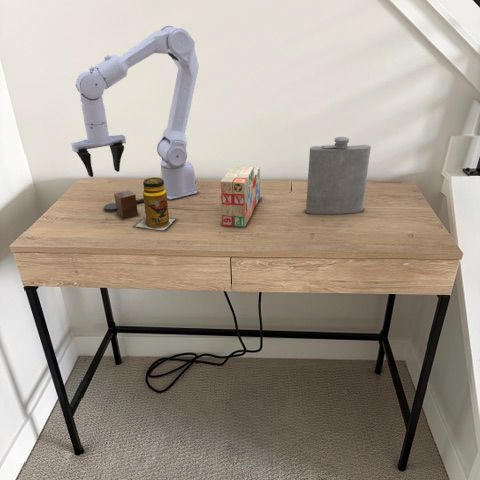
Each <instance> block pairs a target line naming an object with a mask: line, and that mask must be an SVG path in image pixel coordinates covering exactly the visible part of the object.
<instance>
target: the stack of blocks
mask: <svg viewBox="0 0 480 480" xmlns="http://www.w3.org/2000/svg"><path fill="white" fill-rule="evenodd" d="M260 169H261V167H260V166H245V165H244V166H243V165H231V166H230V167H229V169H228V171H227V172H226V174H225V175H224V177H222V179H221V180H220V192H221V193H220V199H221V200H220V201H221V202H220V203H221V225H222V226H223V227H237V228H246V225H247V223H249V220H250V219H251V217H252V214H253V212H254V209H255V207H256V206H257V204H258V202H259V201H260V198H261V177H260V176H261V173H260V172H261V170H260Z"/></svg>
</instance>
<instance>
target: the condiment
mask: <svg viewBox="0 0 480 480" xmlns="http://www.w3.org/2000/svg"><path fill="white" fill-rule="evenodd" d="M142 184H143V191H142V196H143V197H142V199H143V198H144V202H143V204H144V213H145V217H144V218H143V219H142V220H141V221H140V222H138V223H137V224H136V225H135V226H134V227H135V228H143V229H150V230H155V231H156V230H157V231H166V229H167V228H168V227H169V226H171V224H173V222H174V221H175V220H176V219H175V218H170V213H169V205H168V198H167V193H166V190H165V186H164V181H163V179H162V177H148V178H145V179H144V180H143V182H142Z"/></svg>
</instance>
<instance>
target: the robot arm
mask: <svg viewBox="0 0 480 480" xmlns="http://www.w3.org/2000/svg"><path fill="white" fill-rule="evenodd" d="M195 45H196V42H195V40H194V39H193V38H192V36H191V34H190V33H189V32H188V31H187V29H184V28H182V27H175V26H172V25H165V26H163V27H162V28H160V29H158V30H155V31H153V32H152V33H150V34H149V35H148V36H146V37H145V38H144V39H142V40H141V41H140V42H137V44H136V45H134V46H133V47H131V48H130V49H128V50H127V51H126V52H124V53H123V54H122V55H120V56H119V55H117V54H112V55H109V54H106V55H105V56H103V58H104V60H103V61H100V62H99V63H98V64H96V65H95V66H92V65H91V66H89V67H88V70H89V71H83V72H81V73H79V74H78V76H77V78H76V81H75V88H76V90H77V91H78V93H79V96H80V102H81V110H82V116H83V123H84V127H85V131H86V139H83V140H79V141H76V142H71V143H70V145H71V150H72V151H73V153H76V154H77V156H78V157H79V159H80V160H81V161H82V163H83V165H84V168H85V169H86V173H87V175H88V176H89V177H90V178H93V177H94V170H93V166H92V157H91V155H92V154H91V153H90V152H89V150H91V149H98V148H102V147H108V146H109V149H110V152H111V156H112V164H113V168H114V171H115V172H117V173H119V172H120V169H121V161H122V156H123V153H124V150H125V145H124V144H127V141H126V140H127V139H126V136H125V135H124V134H117V135H116V134H115V135H110V133H109V128H108V122H107V114H106V108H105V103H104V99H103V95H104V92H105V90H108V89H110V88H111V87H112V86H114V85H115V84H118V83H119V82H121V80H123V79H124V78H126V77H127V75H128V70H129V69H130V68H132V67H133V66H135V65H137V64H139V63H140V62H142V61H143V60H145V59H147V58H148V57H150V56H152V55H155V54H159V55H160V54H161V55H162V54H163V55H168V56H169V57H170V59H171V60H172V62H173V63H174V64H175V67H176V68H177V73H176V78H175V82H174V83H175V84H174V89H173V94H172V100H171V104H170V109H169V115H168V119H167V125H166V128H165V130H163V132H162V136H161V138H160V139H159V141H158V143H157V145H156V152H157V155H158V156H159V157H160V158H161V159H160V174H161V179H163V181H164V186H165V190H166V193H167V200H169V201H170V200H175V199H179V198H183V197H187V196H188V197H189V196H191V195H195V194H198V191H197V188H196V187H197V186H196V173H195V168H194V166H193V164H192V162H190V161H189V160H188V161H187V159H188V152H187V146H188V145H187V144H188V141H187V137H186V130H187V125H188V121H189V115H190V111H191V107H192V101H193V96H194V92H195V87H196V82H197V78H198V73H199V61H198V57H197V52H196V48H195Z"/></svg>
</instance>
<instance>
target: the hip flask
mask: <svg viewBox="0 0 480 480" xmlns="http://www.w3.org/2000/svg"><path fill="white" fill-rule="evenodd" d="M349 141H350V138H349V137H346V136H337V137H334V144H327V145H326V144H325V145H321V146H319V145H314V146H310V147H309V158H308V173H307V185H306V186H307V187H306V188H307V190H306V201H305V202H306V203H305V212H306V213H307V214H310V215H311V214H312V215H341V214H353V213H360V212H363V207H364V201H365V193H366V187H367V186H366V185H367V179H368V177H367V176H368V171H369V164H370V155H371V149H372V147H371V146H370V145H368V144H357V145H348V143H350V142H349Z"/></svg>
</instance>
